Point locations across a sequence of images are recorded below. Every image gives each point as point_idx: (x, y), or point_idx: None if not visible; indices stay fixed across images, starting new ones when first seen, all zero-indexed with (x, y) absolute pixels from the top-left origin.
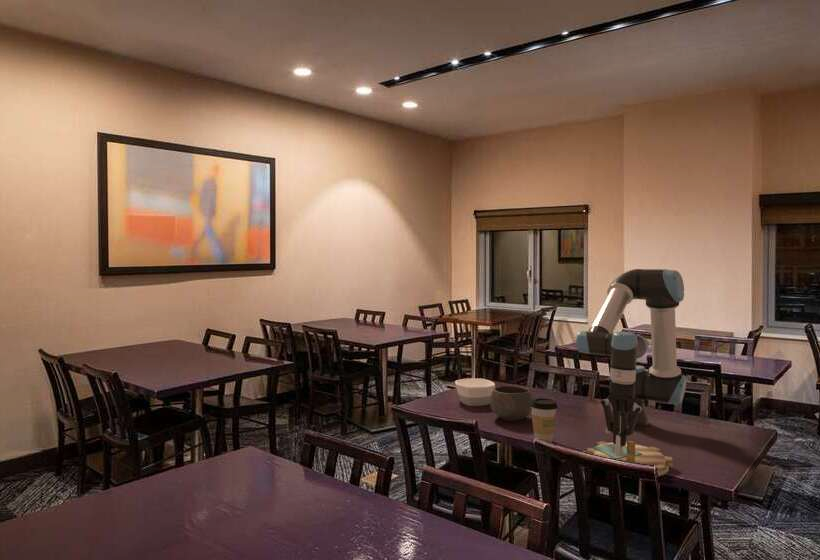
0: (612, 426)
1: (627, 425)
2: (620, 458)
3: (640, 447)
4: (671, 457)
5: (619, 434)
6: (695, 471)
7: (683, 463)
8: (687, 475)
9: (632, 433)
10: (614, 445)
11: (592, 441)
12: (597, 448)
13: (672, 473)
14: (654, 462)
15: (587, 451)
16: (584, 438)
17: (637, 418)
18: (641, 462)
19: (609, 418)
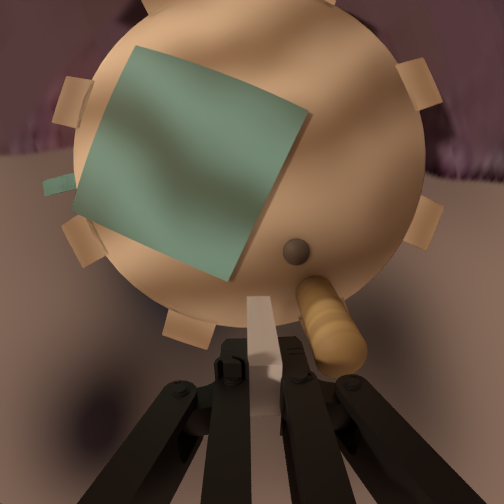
0: (183, 409)
1: (331, 427)
2: (244, 254)
3: (254, 11)
4: (425, 64)
5: (258, 386)
6: (470, 68)
7: (413, 6)
8: (467, 126)
9: (364, 384)
10: (135, 94)
11: (29, 33)
12: (95, 212)
13: (428, 139)
14: (395, 187)
15: (57, 178)
16: (2, 36)
17: (454, 477)
18: (348, 232)
19: (167, 500)
